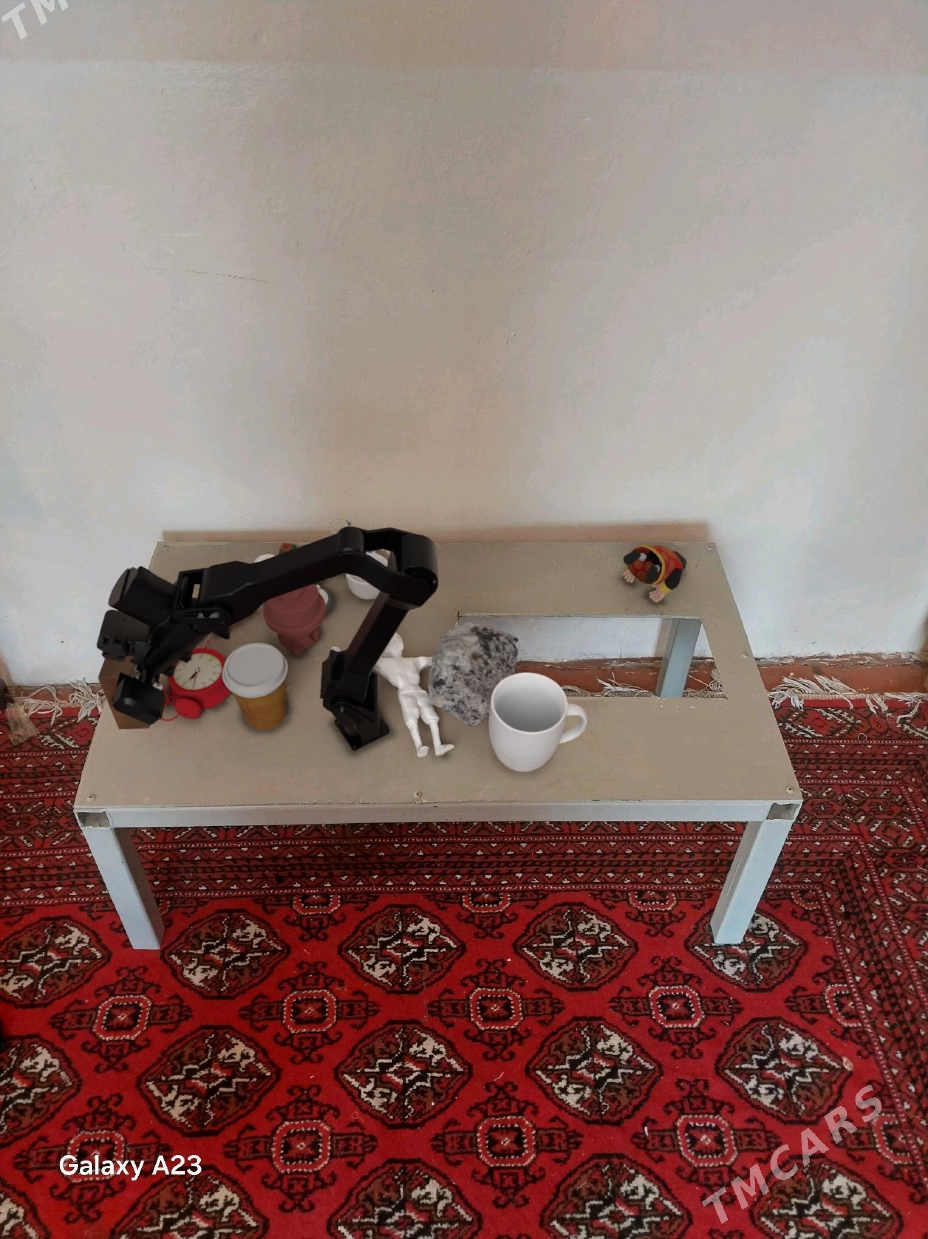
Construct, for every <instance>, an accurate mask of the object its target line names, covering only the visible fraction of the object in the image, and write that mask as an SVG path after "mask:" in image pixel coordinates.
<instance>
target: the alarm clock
mask: <svg viewBox="0 0 928 1239" xmlns="http://www.w3.org/2000/svg"><path fill="white" fill-rule="evenodd" d="M209 643H210V640H209V639H207V640H206V644H205V646H204V647H196V648H195V649H194V650H193V652H192V657H191V660H190V661H189V662H188V663H185V662H183V661H180V662H178V663H177V664H176V667H175V672H174V675H172V676H171V677H168V676H167V681H168V684H167V686H168V687H167V689H168V690H167V691H168V694H169V695H168V694H167V692H166V690H165V688H164V687H163V688H162V691H164V692H165V695H166V702H165V706H169V705H172V706H174V710H175V711H176V713H177V715H175V716H173V717H172V718H163V717H162V718H161V719H159V721H160V720H161V721H164V722H170V721H173V720H175V719H177V718H179V717H182V718H184V719H188V720H196V719H199V718H200V716H201V715H202V713H203V711H204V710H208V709H211V708H214V707H216V706H218V705H219V704H221V703H223V702H224V701H225V700H226V699H227V698H229V697H230V695H231V694H232V691H230V690H229V689H228V688H227V686H226V685H225V683H224V681H223V677H222V671H223V668H224V665H225V662H226V660H227V658H225V657H224V655H223V654H222V653H221V652H219V651H217V650H215V649H214V648H211V647H208V645H209ZM170 699H171V700H172V701H171V700H170Z"/></svg>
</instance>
